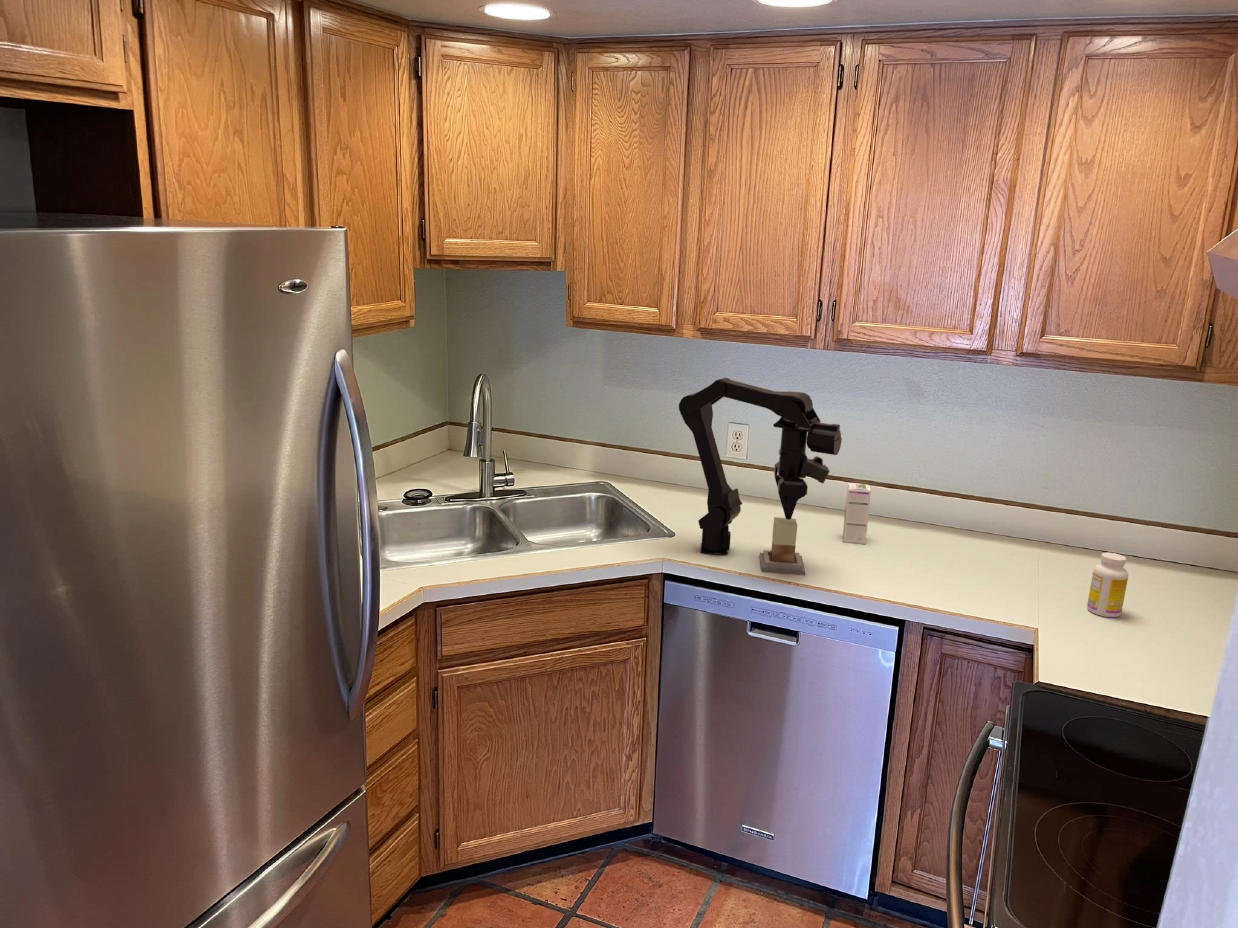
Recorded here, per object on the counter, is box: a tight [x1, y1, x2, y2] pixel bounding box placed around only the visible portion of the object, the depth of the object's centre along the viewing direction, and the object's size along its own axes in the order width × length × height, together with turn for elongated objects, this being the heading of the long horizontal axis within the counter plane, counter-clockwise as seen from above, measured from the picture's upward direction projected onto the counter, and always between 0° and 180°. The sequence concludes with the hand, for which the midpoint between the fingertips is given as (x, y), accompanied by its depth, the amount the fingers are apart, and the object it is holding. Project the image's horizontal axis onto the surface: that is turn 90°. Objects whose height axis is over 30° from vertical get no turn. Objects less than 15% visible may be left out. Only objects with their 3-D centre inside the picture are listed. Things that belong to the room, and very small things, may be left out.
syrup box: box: [842, 482, 872, 545], centre depth 234 cm, size 6×6×14 cm
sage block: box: [771, 516, 798, 546], centre depth 214 cm, size 5×5×5 cm
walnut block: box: [770, 538, 797, 563], centre depth 215 cm, size 5×5×5 cm
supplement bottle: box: [1086, 552, 1129, 618], centre depth 196 cm, size 7×7×13 cm
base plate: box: [759, 549, 806, 576], centre depth 216 cm, size 10×10×2 cm
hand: (786, 513), depth 213 cm, fingers open, 9 cm apart
